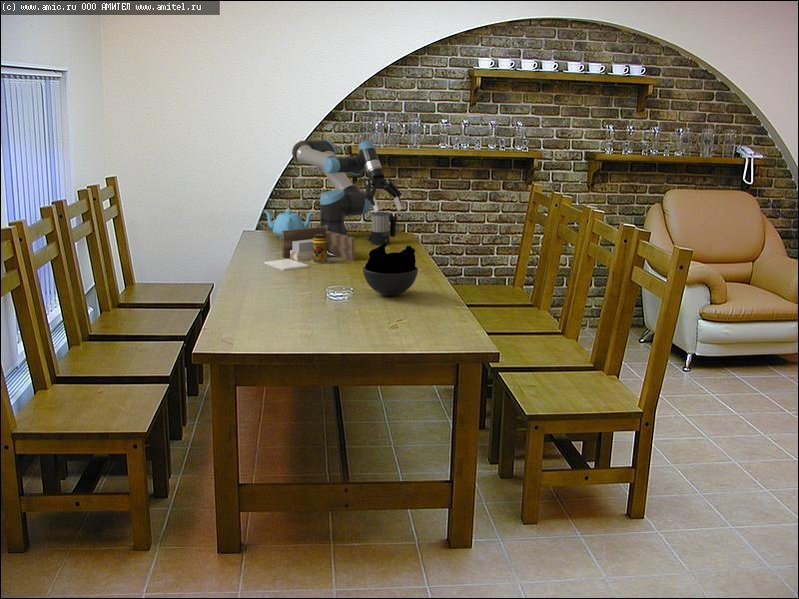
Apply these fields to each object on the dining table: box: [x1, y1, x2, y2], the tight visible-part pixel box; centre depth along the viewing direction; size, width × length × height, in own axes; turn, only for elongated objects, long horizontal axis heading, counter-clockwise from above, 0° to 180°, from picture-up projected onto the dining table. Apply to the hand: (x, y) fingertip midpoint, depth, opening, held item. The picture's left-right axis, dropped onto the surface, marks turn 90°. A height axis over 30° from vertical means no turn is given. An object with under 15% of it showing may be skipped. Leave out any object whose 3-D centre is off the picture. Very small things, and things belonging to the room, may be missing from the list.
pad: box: [264, 258, 310, 271], centre depth 363 cm, size 16×12×1 cm
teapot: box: [263, 209, 315, 240], centre depth 425 cm, size 16×20×14 cm
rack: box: [281, 226, 356, 262], centre depth 375 cm, size 22×23×12 cm
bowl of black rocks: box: [362, 244, 419, 296], centre depth 313 cm, size 20×20×19 cm
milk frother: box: [365, 211, 397, 246], centre depth 418 cm, size 14×16×15 cm
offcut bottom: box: [289, 250, 313, 262], centre depth 379 cm, size 6×14×4 cm, turn 128°
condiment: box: [309, 234, 331, 265], centre depth 370 cm, size 7×8×12 cm
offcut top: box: [292, 239, 313, 252], centre depth 378 cm, size 5×12×4 cm, turn 129°
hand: (388, 210), depth 408 cm, fingers open, 13 cm apart
